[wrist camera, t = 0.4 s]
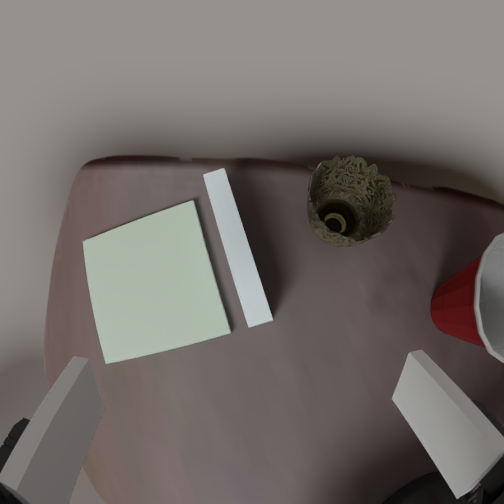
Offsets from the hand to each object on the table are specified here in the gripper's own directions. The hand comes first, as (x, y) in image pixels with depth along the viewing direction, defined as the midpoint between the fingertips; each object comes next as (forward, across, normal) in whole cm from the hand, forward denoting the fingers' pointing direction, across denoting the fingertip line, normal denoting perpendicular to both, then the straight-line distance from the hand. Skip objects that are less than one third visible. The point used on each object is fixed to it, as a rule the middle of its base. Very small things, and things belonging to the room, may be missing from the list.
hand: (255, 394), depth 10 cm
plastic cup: (+14, -23, +4) cm, 27 cm away
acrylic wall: (+19, 0, 0) cm, 19 cm away
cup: (+20, -10, -3) cm, 22 cm away
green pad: (+19, +9, +3) cm, 21 cm away
